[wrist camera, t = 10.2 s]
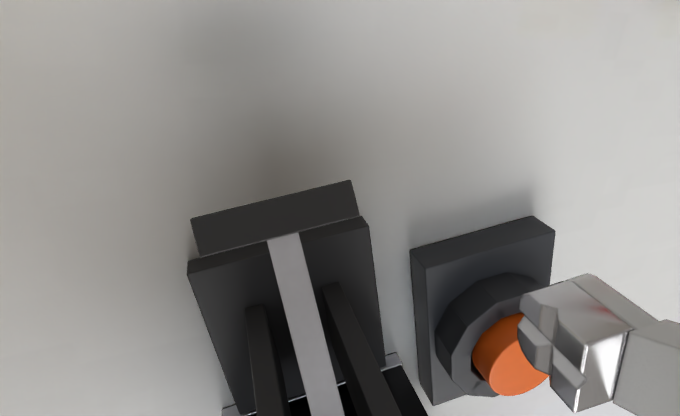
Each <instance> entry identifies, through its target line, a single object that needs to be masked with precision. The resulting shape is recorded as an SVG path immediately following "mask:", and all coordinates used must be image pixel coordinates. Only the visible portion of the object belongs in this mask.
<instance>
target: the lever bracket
mask: <svg viewBox="0 0 680 416" xmlns="http://www.w3.org/2000/svg"><path fill="white" fill-rule="evenodd" d="M298 233H299V237H300V241H301V245H302V249H303V253H304V257H305V261H306V265H307V269H308V273H309V276H310V280H311V284H312V288H313V292H314V296H315V300H316V304H317V308H318V312H319V316H320V320H321V324H322V328H323V332H324V336H325V340H326V344H327V348H328V352H329V356H330V359H331V363H332V367H333V371H334V375H335V379H336V382H339V381H342V380H345V382H346V385H347V388H348V391H349V394H350V396H351V399H352V402H353V405H354V407H355V410H356V413H357V416H402V415H401V413H400V410H399V408H398V406H397V404H396V402H395V400H394V398H393V396H392V393H391V391H390V389H389V387H388V385H387V383H386V381H385V379H384V376H383V374H382V372H381V370H380V368H382V367H385V366H386V359H385V351H384V343H383V335H382V327H381V319H380V311H379V303H378V295H377V287H376V279H375V271H374V263H373V255H372V247H371V239H370V231H369V226H368V224H367V223H366V221H365V220H364V219H363V217H362V216H359V217H355V218H351V219H348V220H344V221H340V222H336V223H332V224H329V225H325V226H321V227H317V228H313V229H309V230H306V231H302V232H298ZM187 276H188V279H189V282H190V284H191V287H192V290H193V292H194V295H195V298H196V300H197V303H198V306H199V308H200V311H201V314H202V316H203V319H204V322H205V324H206V327H207V330H208V332H209V335H210V337H211V340H212V343H213V345H214V348H215V351H216V353H217V356H218V359H219V361H220V364H221V367H222V369H223V372H224V375H225V377H226V380H227V383H228V385H229V388H230V391H231V393H232V396H233V399H234V401H235V404H236V407H237V409H238V412H239V414H243V413H246V412H249V411H252V410H255V409H256V412H257V416H291V412H290V407H289V402H288V398H291V397H294V396H297V395H300V394H303V393H306V392H305V388H304V384H303V381H302V377H301V373H300V369H299V365H298V361H297V357H296V353H295V349H294V345H293V341H292V338H291V334H290V330H289V326H288V322H287V318H286V314H285V310H284V306H283V302H282V298H281V295H280V291H279V287H278V283H277V279H276V275H275V271H274V267H273V263H272V259H271V255H270V252H269V248H268V244H267V241H264V242H260V243H256V244H252V245H248V246H244V247H241V248H237V249H233V250H229V251H225V252H221V253H218V254H214V255H210V256H206V257H202V258H199V259H195V260H191V261H188V267H187Z"/></svg>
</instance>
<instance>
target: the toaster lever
mask: <svg viewBox="0 0 680 416" xmlns="http://www.w3.org/2000/svg"><path fill="white" fill-rule="evenodd" d="M358 216H359V210H358V206H357V202H356V198H355V194H354V190H353V186H352V182H351V180H346V181H342V182H338V183H334V184H330V185H325V186H321V187H317V188H313V189H309V190H305V191H301V192H297V193H293V194H289V195H285V196H280V197H276V198H272V199H268V200H264V201H260V202H256V203H252V204H248V205H244V206H240V207H235V208H231V209H227V210H223V211H219V212H215V213H211V214H207V215H203V216H199V217H195V218H192V219H191V220H190V221H191V225H192V229H193V233H194V237H195V240H196V244H197V248H198V252H199V256H200V257H206V256H210V255H213V254H217V253H221V252H225V251H229V250H233V249H236V248H240V247H244V246H248V245H252V244H256V243H259V242H263V241H267V244H268V248H269V252H270V255H271V259H272V263H273V267H274V271H275V275H276V279H277V283H278V287H279V291H280V295H281V298H282V302H283V306H284V310H285V314H286V318H287V322H288V326H289V330H290V334H291V338H292V341H293V345H294V349H295V353H296V357H297V361H298V365H299V369H300V373H301V377H302V381H303V384H304V388H305V392H306V396H307V400H308V404H309V408H310V412H311V416H345V415H344V411H343V407H342V403H341V399H340V395H339V391H338V387H337V383H336V379H335V375H334V371H333V367H332V363H331V359H330V356H329V352H328V348H327V344H326V340H325V336H324V332H323V328H322V324H321V320H320V316H319V312H318V308H317V304H316V300H315V296H314V292H313V288H312V284H311V280H310V276H309V273H308V269H307V265H306V261H305V257H304V253H303V249H302V245H301V241H300V237H299V233H298V232H301V231H305V230H309V229H313V228H317V227H321V226H324V225H328V224H332V223H336V222H340V221H344V220H347V219H351V218H355V217H358Z"/></svg>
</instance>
